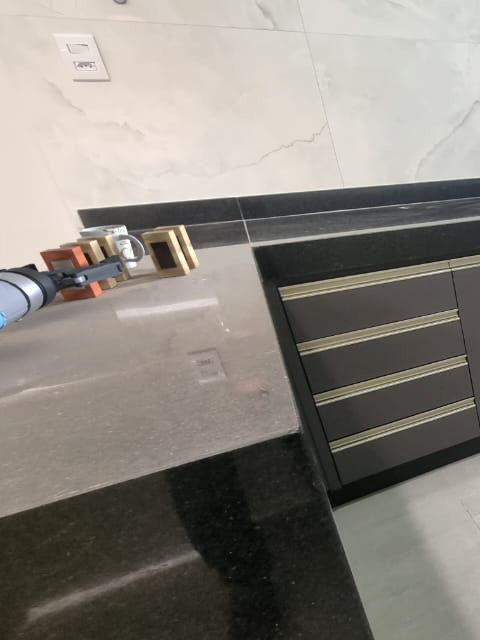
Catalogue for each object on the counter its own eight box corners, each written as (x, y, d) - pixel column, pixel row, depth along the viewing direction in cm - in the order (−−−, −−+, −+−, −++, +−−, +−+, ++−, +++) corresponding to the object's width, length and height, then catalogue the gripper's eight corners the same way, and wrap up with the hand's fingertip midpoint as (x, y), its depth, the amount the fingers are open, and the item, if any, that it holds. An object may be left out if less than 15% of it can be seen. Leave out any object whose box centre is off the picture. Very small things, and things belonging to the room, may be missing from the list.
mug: (120, 264, 136) (102, 225, 131) (167, 263, 135) (150, 223, 131) (89, 273, 128) (68, 232, 124) (138, 271, 128) (119, 230, 123)
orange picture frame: (64, 301, 107) (38, 252, 103) (72, 297, 110) (47, 249, 105) (95, 297, 109) (71, 249, 104) (103, 293, 111) (79, 246, 107)
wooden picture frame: (159, 278, 121) (140, 234, 117) (175, 268, 130) (157, 227, 125) (185, 275, 123) (167, 231, 118) (199, 265, 131) (183, 224, 127)
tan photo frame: (82, 292, 113) (58, 245, 109) (104, 280, 121) (83, 236, 117) (111, 288, 114) (89, 242, 110) (131, 277, 123) (111, 234, 119)
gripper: (-70, 325, 89) (8, 292, 107) (115, 302, 97) (159, 274, 115) (-99, 282, 86) (-13, 255, 104) (95, 262, 94) (144, 240, 112)
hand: (78, 265), depth 109 cm, fingers open, 13 cm apart
